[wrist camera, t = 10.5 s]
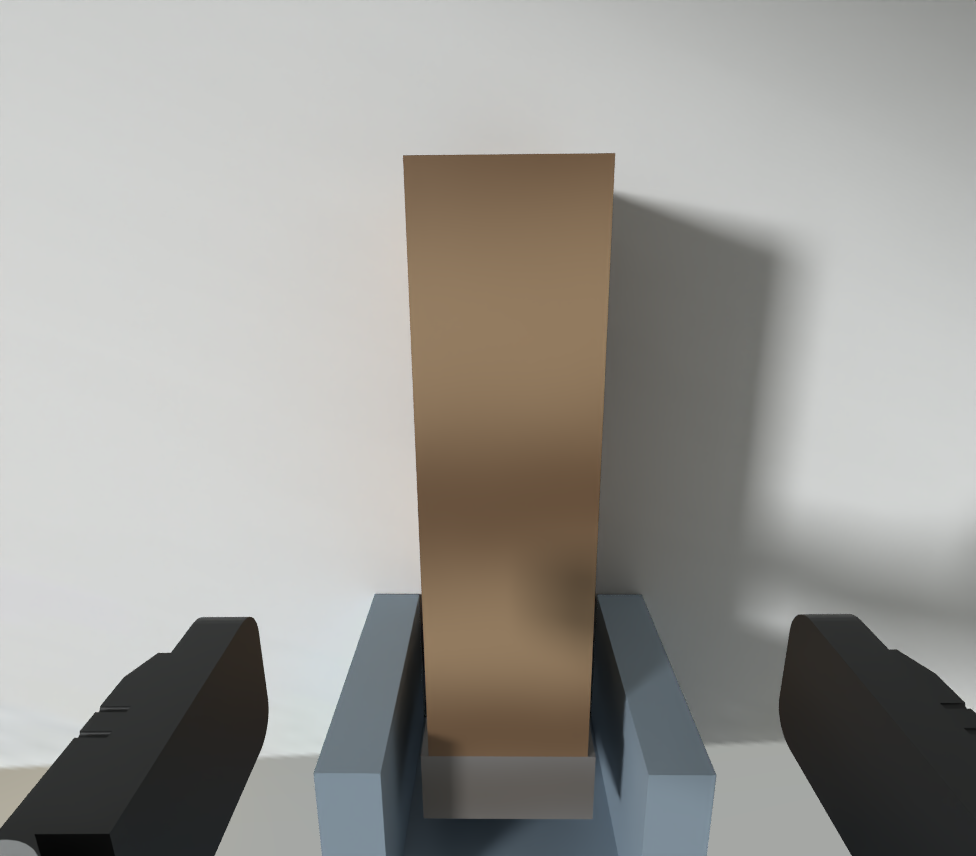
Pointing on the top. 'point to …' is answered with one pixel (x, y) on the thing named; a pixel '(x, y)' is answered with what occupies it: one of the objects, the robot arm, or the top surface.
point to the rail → (508, 472)
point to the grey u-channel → (516, 842)
